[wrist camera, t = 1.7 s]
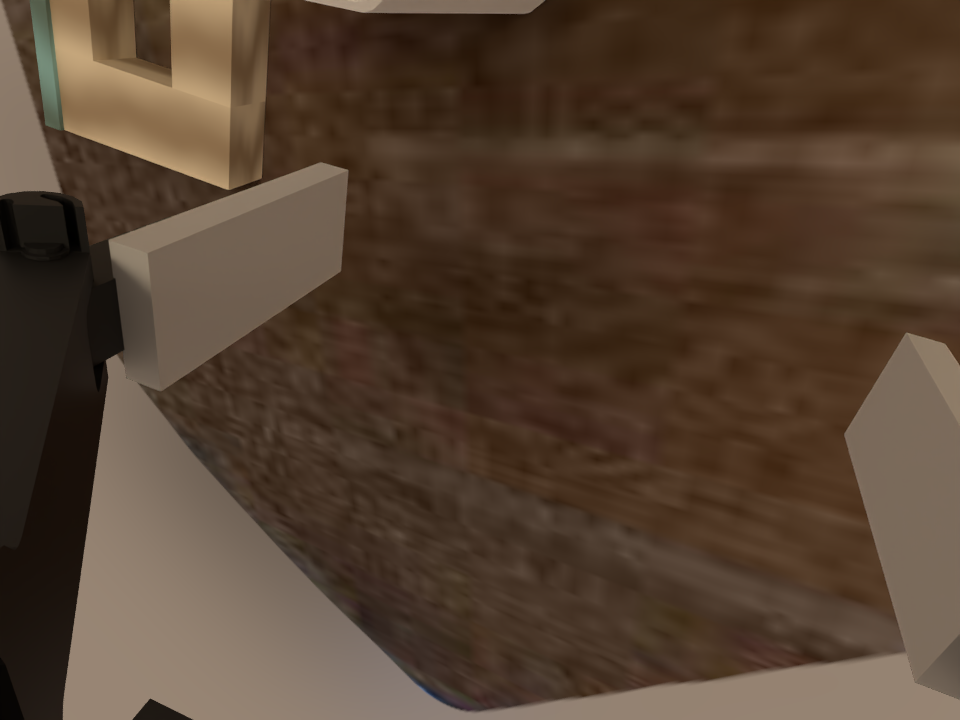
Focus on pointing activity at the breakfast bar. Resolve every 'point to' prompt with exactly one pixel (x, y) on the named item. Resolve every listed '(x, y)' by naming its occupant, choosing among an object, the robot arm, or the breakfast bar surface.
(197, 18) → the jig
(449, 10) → the cup
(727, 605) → the breakfast bar surface
